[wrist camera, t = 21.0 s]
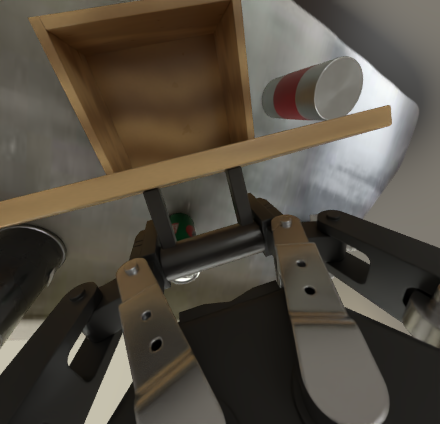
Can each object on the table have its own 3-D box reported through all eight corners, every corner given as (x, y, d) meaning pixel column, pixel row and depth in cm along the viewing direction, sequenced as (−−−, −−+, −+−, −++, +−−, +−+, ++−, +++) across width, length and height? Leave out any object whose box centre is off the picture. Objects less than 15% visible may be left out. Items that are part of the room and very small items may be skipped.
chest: (76, 50, 22) (27, 17, 14) (217, 26, 24) (239, -16, 16) (130, 173, 29) (116, 194, 21) (235, 147, 31) (256, 158, 23)
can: (263, 121, 30) (312, 126, 20) (260, 81, 27) (315, 61, 17) (294, 114, 31) (358, 115, 20) (294, 73, 28) (368, 50, 18)
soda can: (171, 207, 33) (172, 250, 22) (198, 217, 35) (210, 261, 25) (159, 230, 34) (155, 281, 24) (185, 239, 36) (192, 289, 26)
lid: (-80, 220, 6) (3, 364, 7) (391, 104, 8) (401, 230, 9) (114, 192, 21) (130, 238, 22) (257, 155, 23) (266, 199, 24)
